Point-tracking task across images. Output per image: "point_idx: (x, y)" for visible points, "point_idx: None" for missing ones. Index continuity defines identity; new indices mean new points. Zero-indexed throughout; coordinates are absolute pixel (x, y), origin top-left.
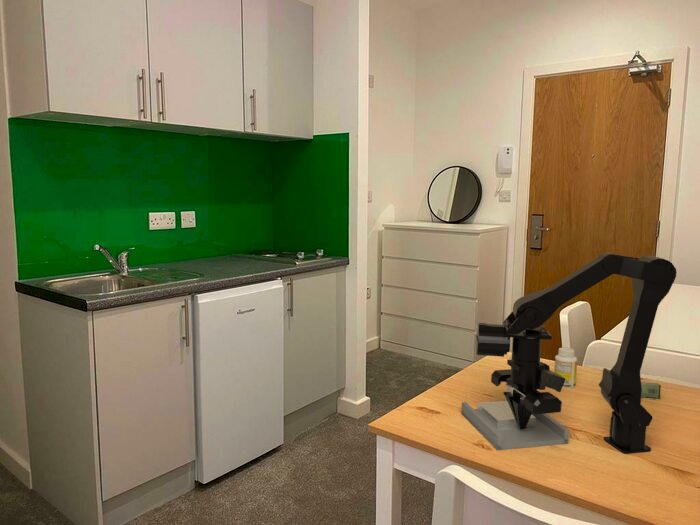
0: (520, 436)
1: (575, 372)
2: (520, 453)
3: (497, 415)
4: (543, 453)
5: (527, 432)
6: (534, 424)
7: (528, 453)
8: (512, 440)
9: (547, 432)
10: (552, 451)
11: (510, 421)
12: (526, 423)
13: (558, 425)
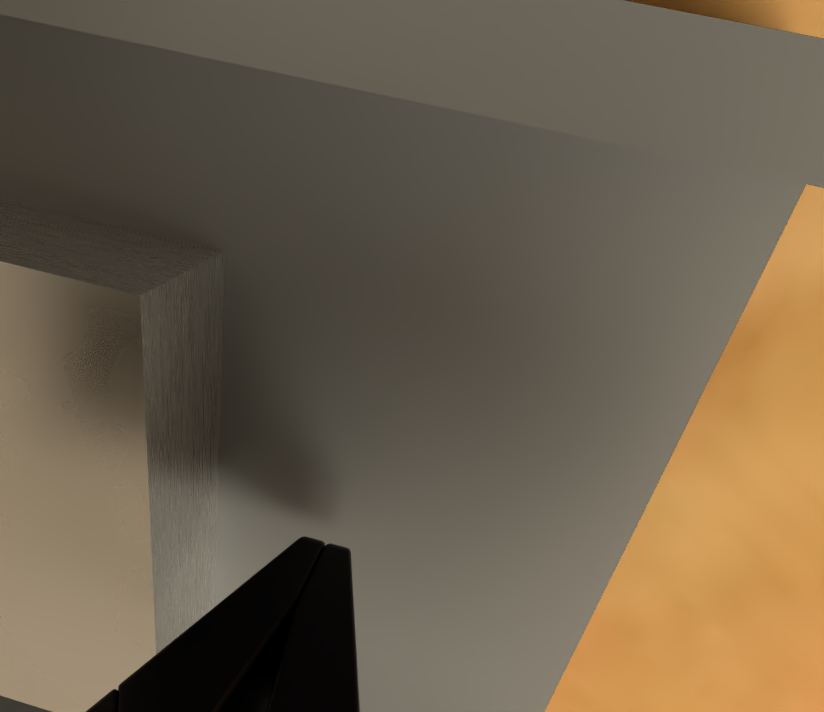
0: (423, 600)
1: None
2: (625, 704)
3: (29, 667)
4: (762, 567)
5: (363, 473)
6: (209, 268)
7: (667, 662)
8: (466, 704)
9: (465, 239)
10: (800, 462)
11: (172, 618)
12: (354, 630)
13: (641, 140)
